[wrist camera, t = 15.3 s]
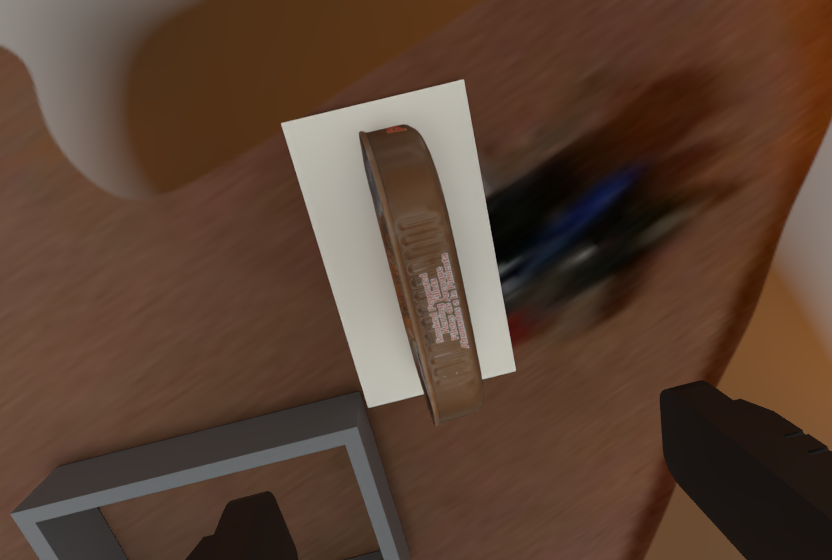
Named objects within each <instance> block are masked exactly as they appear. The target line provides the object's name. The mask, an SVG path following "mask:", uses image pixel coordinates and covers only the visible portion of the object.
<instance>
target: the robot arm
mask: <svg viewBox="0 0 832 560" xmlns="http://www.w3.org/2000/svg"><path fill="white" fill-rule="evenodd" d="M660 412H661V427H662V442H663V454H664V458H665V461H666V464H667V466H668V468H669V471H670V472H671V474H672V476H673V478H674V479H675V481H676V482H677V483H678V484H679V486H680V487H681V488H682V489H683V490H684V491H685V492H686V493H687V495H689V497H690V498H691V499H692V500H693V501H694V502H695V503H696V504H697V505H698V507H699V508H700V509H701V510H702V511H703V512H704V513H705V514H706V515H707V517H708V518H709V519H710V520H711V521H712V522H713V523H714V524H715V525H716V526H717V528H718V529H719V530H720V531H721V532H722V533H723V534H724V535H725V536H726V537H727V539H728V540H729V541H730V542H731V543H732V544H733V545H734V546H735V547H736V548H737V550H738V551H739V552H740V553H741V554H742V555H743V556H744V557H745V558H746V559H747V560H832V451H829V450H828V448H827V446H826V445H824V444H823V443H821V442H820V441H818V440H817V439H815V438H814V437H812V436H811V435H809V434H807V435H805V434H804V433H803V430H802V429H800V428H798V427H797V426H795V425H794V424H792V423H791V422H789V421H788V420H786V419H785V418H783V417H781V416H780V415H779V414H777V413H775V412H774V411H771V410H769V409H766V408H764V407H761V406H758V405H756V404H753V403H750V402H748V401H745V400H742V399H738V400H732V399H731V398H729V397H728V396H726V395H725V394H723V393H722V392H721V391H719V390H718V389H716V388H715V387H714V386H712V385H711V384H709V383H707V382H705V381H696V382H692V383H688V384H684V385H680V386H676V387H673V388H669V389H665V390H663V391H662V392H661V394H660ZM186 560H298V555H297V551H296V547H295V545H294V542H293V540H292V537H291V535H290V533H289V530H288V528H287V525H286V523H285V521H284V518H283V516H282V513H281V511H280V509H279V506H278V504H277V501H276V499H275V497H274V495H273V494H272V493H271V492H269V491H266V492H262V493H259V494H255V495H251V496H247V497H243V498H239V499H235V500H232V501H230V502H229V503H228V504H227V505H226V507H225V509H224V511H223V514H222V516H221V519H220V521H219V523H218V526H217V528H216V531H215V533H214V535H210V536H206V537H203V539H202V540H201V541H200V542H199V544H198V545H197V546H196V547H195V549H194V550H193V551H192V552H191V554H190V555H189V556H188V557H187V559H186Z"/></svg>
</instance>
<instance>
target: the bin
mask: <svg viewBox="0 0 832 560" xmlns="http://www.w3.org/2000/svg"><path fill="white" fill-rule="evenodd" d="M342 445H346V448H347V451H348V454H349V457H350V460H351V463H352V466H353V469H354V472H355V475H356V478H357V481H358V484H359V487H360V490H361V493H362V496H363V499H364V502H365V505H366V508H367V511H368V514H369V517H370V520H371V523H372V526H373V529H374V532H375V535H376V538H377V541H378V544H379V547H380V550H381V551H377V552H373V553H369V554H365V555H362V556H358V557H354V558H350V559H346V560H410V553H409V549H408V546H407V543H406V540H405V536H404V533H403V530H402V527H401V523H400V520H399V517H398V514H397V511H396V507H395V504H394V501H393V498H392V494H391V491H390V488H389V485H388V481H387V478H386V475H385V472H384V468H383V465H382V462H381V459H380V456H379V452H378V449H377V446H376V443H375V439H374V436H373V433H372V430H371V426H370V423H369V420H368V417H367V413H366V410H365V407H364V404H363V401H362V397H361V394H360V391H359V392H355V393H351V394H347V395H343V396H339V397H335V398H331V399H327V400H323V401H319V402H315V403H311V404H307V405H303V406H299V407H294V408H290V409H286V410H282V411H278V412H274V413H270V414H266V415H262V416H258V417H254V418H250V419H246V420H242V421H238V422H234V423H230V424H226V425H222V426H218V427H214V428H210V429H206V430H202V431H198V432H194V433H190V434H186V435H182V436H178V437H174V438H170V439H166V440H162V441H158V442H154V443H150V444H146V445H142V446H138V447H134V448H130V449H126V450H122V451H118V452H114V453H110V454H106V455H102V456H98V457H94V458H90V459H86V460H82V461H78V462H74V463H70V464H66V465H62V466H58V467H57V468H56V469H55V470H54V471H53V472H52V473H51V474H50V475H49V476H48V477H47V478H46V479H45V480H44V481H43V482H42V483H41V484H40V485H39V486H38V487H37V488H36V489H35V490H34V491H33V492H32V493H31V494H30V495H29V496H28V497H27V498H26V499H25V500H24V501H23V502H22V503H21V504H20V505H19V506H18V507H17V508H16V509H15V510H14V511H13V512H12V513H11V514H10V515H11V516H12V518H13V519H14V521H15V522H16V524H17V525H18V527H19V528H20V530H21V531H22V533H23V534H24V536H25V537H26V539H27V541H28V542H29V544H30V545H31V547H32V548H33V550H34V551H35V553H36V554H37V556H38V557H39V559H40V560H128V559H127V558H126V556H125V554H124V552H123V551H122V549H121V547H120V545H119V544H118V542H117V540H116V538H115V537H114V535H113V533H112V532H111V530H110V528H109V526H108V525H107V523H106V521H105V519H104V518H103V516H102V514H101V512H100V511H99V509H98V507H100V506H104V505H108V504H112V503H116V502H120V501H123V500H127V499H131V498H135V497H139V496H143V495H147V494H151V493H155V492H159V491H163V490H167V489H171V488H175V487H179V486H183V485H187V484H191V483H195V482H199V481H203V480H207V479H211V478H215V477H219V476H223V475H227V474H231V473H235V472H239V471H243V470H247V469H251V468H255V467H259V466H263V465H267V464H271V463H274V462H278V461H282V460H286V459H290V458H294V457H298V456H302V455H306V454H310V453H314V452H318V451H322V450H326V449H330V448H334V447H338V446H342Z"/></svg>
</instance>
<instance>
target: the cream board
mask: <svg viewBox="0 0 832 560" xmlns="http://www.w3.org/2000/svg"><path fill="white" fill-rule="evenodd" d="M402 124H405V125H409V126H411V127H413V128H414V129H416V130H417V131H418V132H419V133H420V134H421V136H422V137H423V139H424V141H425V143H426V145H427V147H428V149H429V151H430V153H431V156H432V159H433V162H434V164H435V167H436V170H437V173H438V176H439V180H440V183H441V186H442V190H443V194H444V198H445V202H446V205H447V209H448V213H449V218H450V223H451V228H452V232H453V237H454V241H455V246H456V250H457V255H458V260H459V264H460V269H461V273H462V278H463V283H464V288H465V293H466V298H467V303H468V307H469V312H470V317H471V323H472V327H473V332H474V338H475V343H476V348H477V354H478V358H479V363H480V369H481V375H482V379H486V378H490V377H494V376H498V375H502V374H506V373H510V372H514V371H516V368H515V362H514V357H513V351H512V345H511V340H510V334H509V329H508V323H507V318H506V312H505V306H504V301H503V295H502V290H501V284H500V278H499V273H498V267H497V262H496V256H495V251H494V245H493V239H492V234H491V228H490V223H489V217H488V212H487V206H486V200H485V195H484V189H483V184H482V178H481V173H480V167H479V161H478V156H477V150H476V145H475V139H474V134H473V128H472V122H471V117H470V111H469V106H468V100H467V95H466V89H465V83H464V79H463V80H459V81H455V82H451V83H446V84H442V85H438V86H434V87H430V88H426V89H421V90H417V91H413V92H409V93H405V94H401V95H396V96H392V97H388V98H384V99H380V100H376V101H371V102H367V103H363V104H359V105H355V106H351V107H346V108H342V109H338V110H334V111H330V112H326V113H321V114H317V115H313V116H309V117H305V118H301V119H296V120H292V121H288V122H284V123H281V125H282V128H283V132H284V135H285V138H286V141H287V145H288V148H289V151H290V154H291V158H292V161H293V164H294V167H295V171H296V174H297V177H298V181H299V184H300V187H301V190H302V194H303V197H304V200H305V203H306V207H307V210H308V213H309V216H310V220H311V223H312V226H313V229H314V233H315V236H316V239H317V243H318V246H319V249H320V252H321V256H322V259H323V262H324V265H325V269H326V272H327V275H328V278H329V282H330V285H331V288H332V292H333V295H334V298H335V301H336V305H337V308H338V311H339V314H340V318H341V321H342V324H343V327H344V331H345V334H346V337H347V340H348V344H349V347H350V350H351V354H352V357H353V360H354V363H355V367H356V370H357V373H358V376H359V380H360V383H361V386H362V389H363V393H364V396H365V399H366V403H367V406H368V408H370V407H374V406H378V405H382V404H386V403H390V402H394V401H398V400H402V399H406V398H410V397H414V396H418V395H422V394H424V392H423V389H422V386H421V382H420V379H419V376H418V373H417V369H416V366H415V362H414V359H413V356H412V352H411V348H410V345H409V341H408V337H407V333H406V330H405V326H404V323H403V319H402V315H401V311H400V307H399V303H398V299H397V295H396V291H395V287H394V283H393V279H392V276H391V271H390V267H389V264H388V260H387V255H386V252H385V248H384V244H383V240H382V236H381V232H380V228H379V224H378V220H377V216H376V213H375V208H374V204H373V200H372V196H371V192H370V189H369V184H368V180H367V176H366V172H365V168H364V162H363V156H362V150H361V145H360V139H359V132H360V131H364V132H372V131H376V130H380V129H384V128H388V127H392V126H397V125H402Z"/></svg>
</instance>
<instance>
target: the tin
mask: <svg viewBox="0 0 832 560" xmlns="http://www.w3.org/2000/svg"><path fill="white" fill-rule="evenodd" d="M359 139H360V145H361V150H362V156H363V162H364V168H365V172H366V176H367V180H368V184H369V189H370V192H371V196H372V200H373V204H374V208H375V213H376V216H377V220H378V224H379V228H380V232H381V236H382V240H383V244H384V248H385V252H386V255H387V260H388V264H389V267H390V271H391V276H392V279H393V283H394V287H395V291H396V295H397V299H398V303H399V307H400V311H401V315H402V319H403V323H404V326H405V330H406V333H407V337H408V341H409V345H410V348H411V352H412V356H413V359H414V362H415V366H416V369H417V373H418V376H419V379H420V382H421V386H422V389H423V392H424V395H425V398H426V402H427V405H428V409H429V411H430V415H431V417H432V420H433V423H434V426H438V425H439V424H440V423H443V422H446V421H449V420H452V419H456V418H459V417H462V416H466V415H468V414H471V413H474V412H476V411H478V410H479V409H480V408H481V407H482V404H483V399H484V392H483V382H482V375H481V369H480V363H479V358H478V354H477V348H476V343H475V338H474V332H473V327H472V323H471V317H470V312H469V307H468V303H467V298H466V293H465V288H464V283H463V278H462V273H461V269H460V264H459V260H458V255H457V250H456V246H455V241H454V237H453V232H452V228H451V223H450V218H449V213H448V209H447V205H446V202H445V198H444V194H443V190H442V186H441V183H440V180H439V176H438V173H437V170H436V167H435V164H434V162H433V159H432V156H431V153H430V151H429V149H428V147H427V145H426V143H425V141H424V139H423V137H422V136H421V134H420V133H419V132H418V131H417V130H416V129H414V128H413V127H411V126H409V125H405V124H402V125H397V126H392V127H388V128H384V129H380V130H376V131H372V132H364V131H360V132H359Z"/></svg>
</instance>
